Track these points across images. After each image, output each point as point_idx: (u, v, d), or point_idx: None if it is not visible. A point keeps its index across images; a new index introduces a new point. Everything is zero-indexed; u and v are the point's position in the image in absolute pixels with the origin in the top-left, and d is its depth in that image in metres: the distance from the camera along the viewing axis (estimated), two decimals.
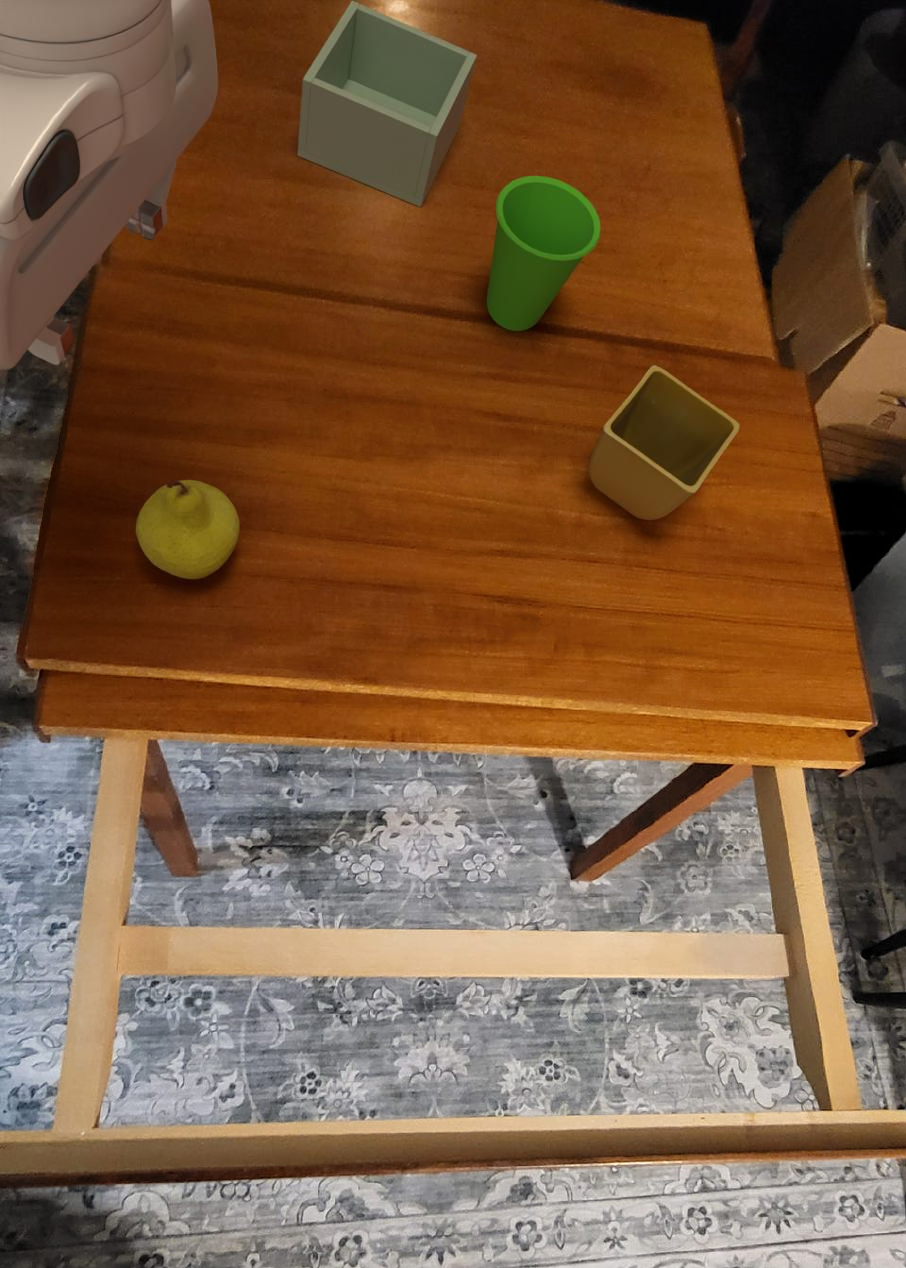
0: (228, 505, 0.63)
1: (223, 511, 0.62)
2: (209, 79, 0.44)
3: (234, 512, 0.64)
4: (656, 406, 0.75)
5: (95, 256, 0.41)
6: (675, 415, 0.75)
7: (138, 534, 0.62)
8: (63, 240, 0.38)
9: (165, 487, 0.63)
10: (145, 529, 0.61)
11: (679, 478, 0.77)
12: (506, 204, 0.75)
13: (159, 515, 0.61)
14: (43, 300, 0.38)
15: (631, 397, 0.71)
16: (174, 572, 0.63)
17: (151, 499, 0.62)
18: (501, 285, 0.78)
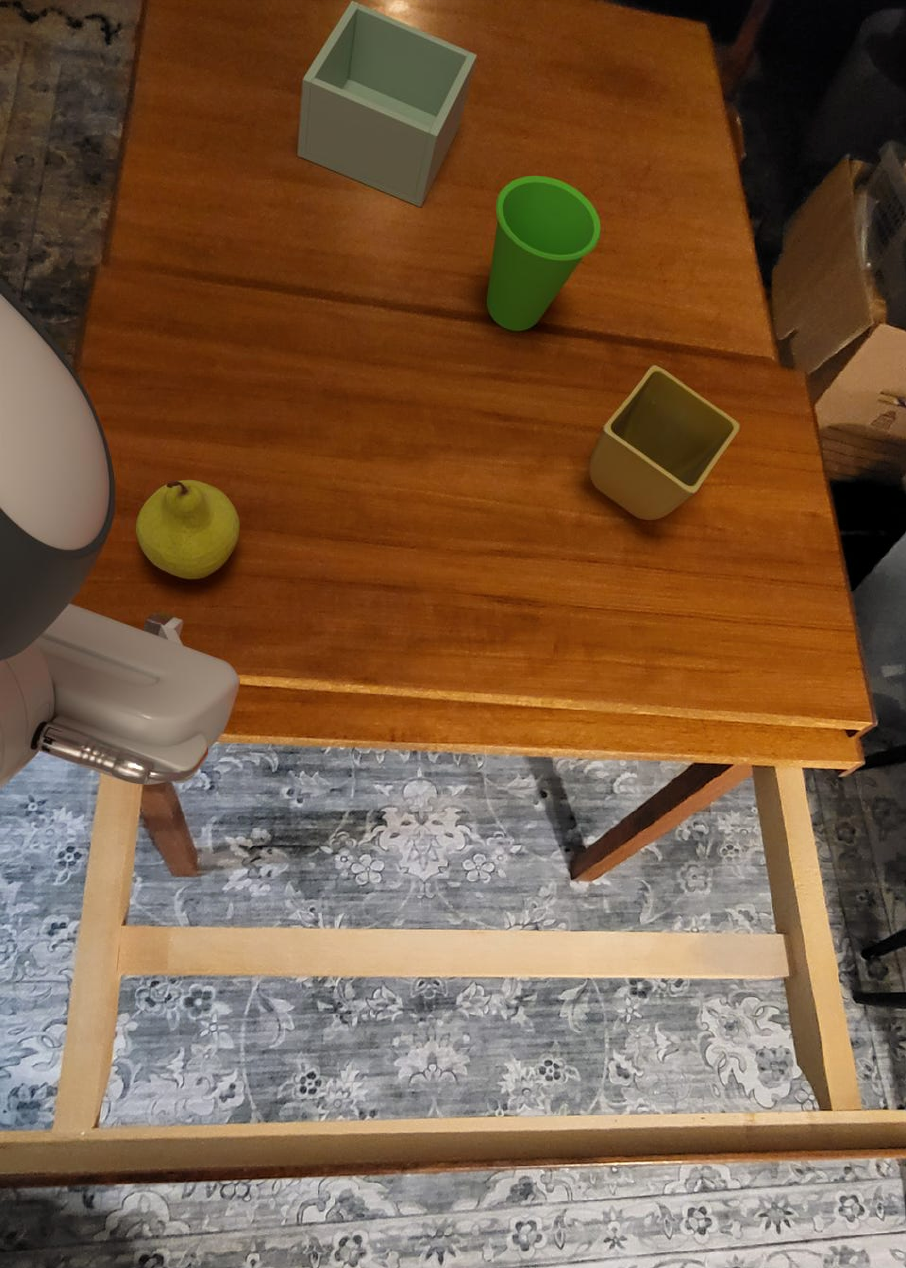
0: (228, 505, 0.63)
1: (223, 511, 0.62)
2: None
3: (234, 512, 0.64)
4: (656, 406, 0.75)
5: None
6: (675, 416, 0.75)
7: (138, 534, 0.62)
8: None
9: (165, 487, 0.63)
10: (145, 529, 0.61)
11: (679, 478, 0.77)
12: (506, 204, 0.75)
13: (159, 515, 0.61)
14: None
15: (631, 397, 0.71)
16: (174, 572, 0.63)
17: (151, 499, 0.62)
18: (501, 285, 0.78)
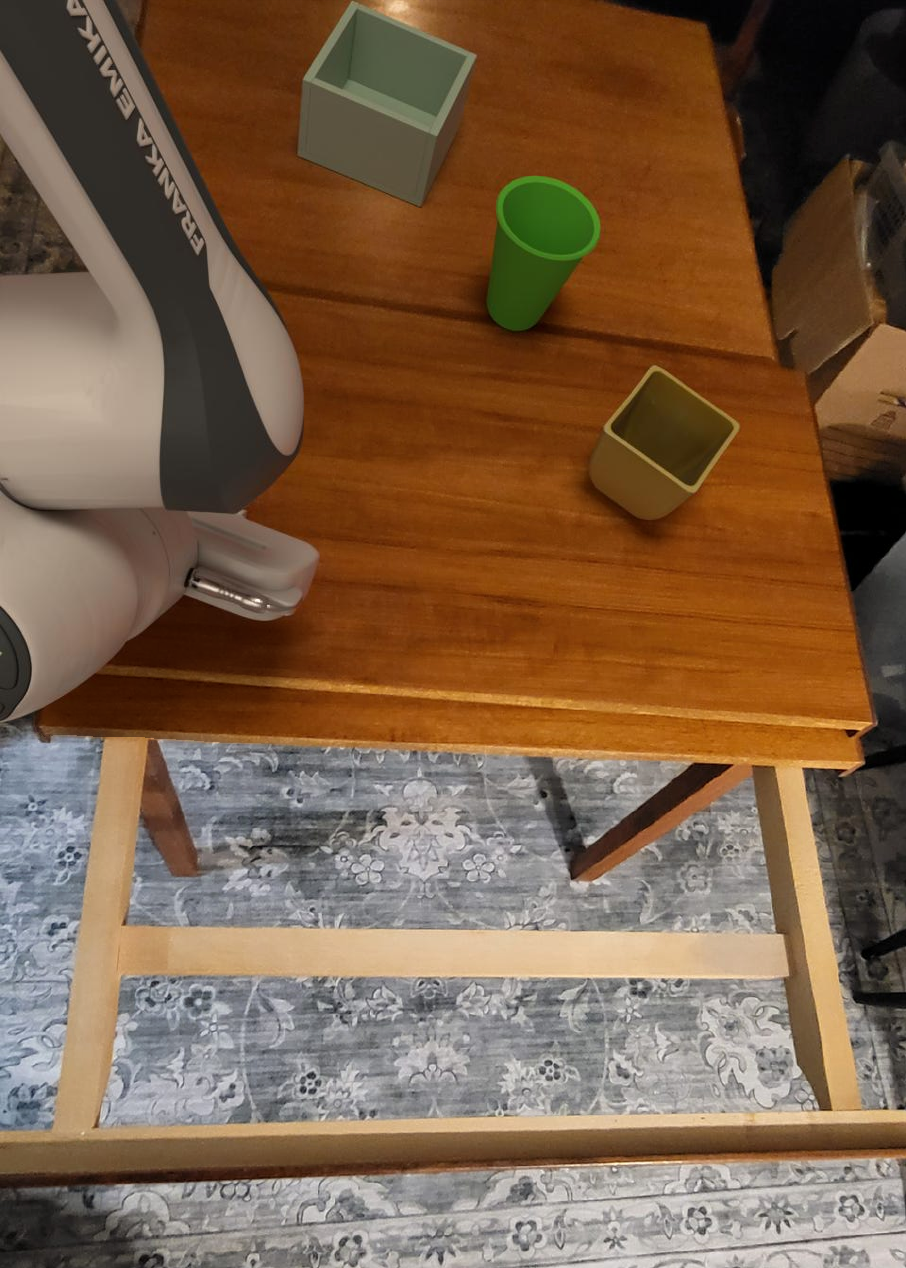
0: None
1: None
2: None
3: None
4: (656, 406, 0.75)
5: None
6: (675, 415, 0.75)
7: None
8: None
9: None
10: None
11: (679, 478, 0.77)
12: (506, 204, 0.75)
13: None
14: None
15: (631, 397, 0.71)
16: None
17: None
18: (501, 285, 0.78)
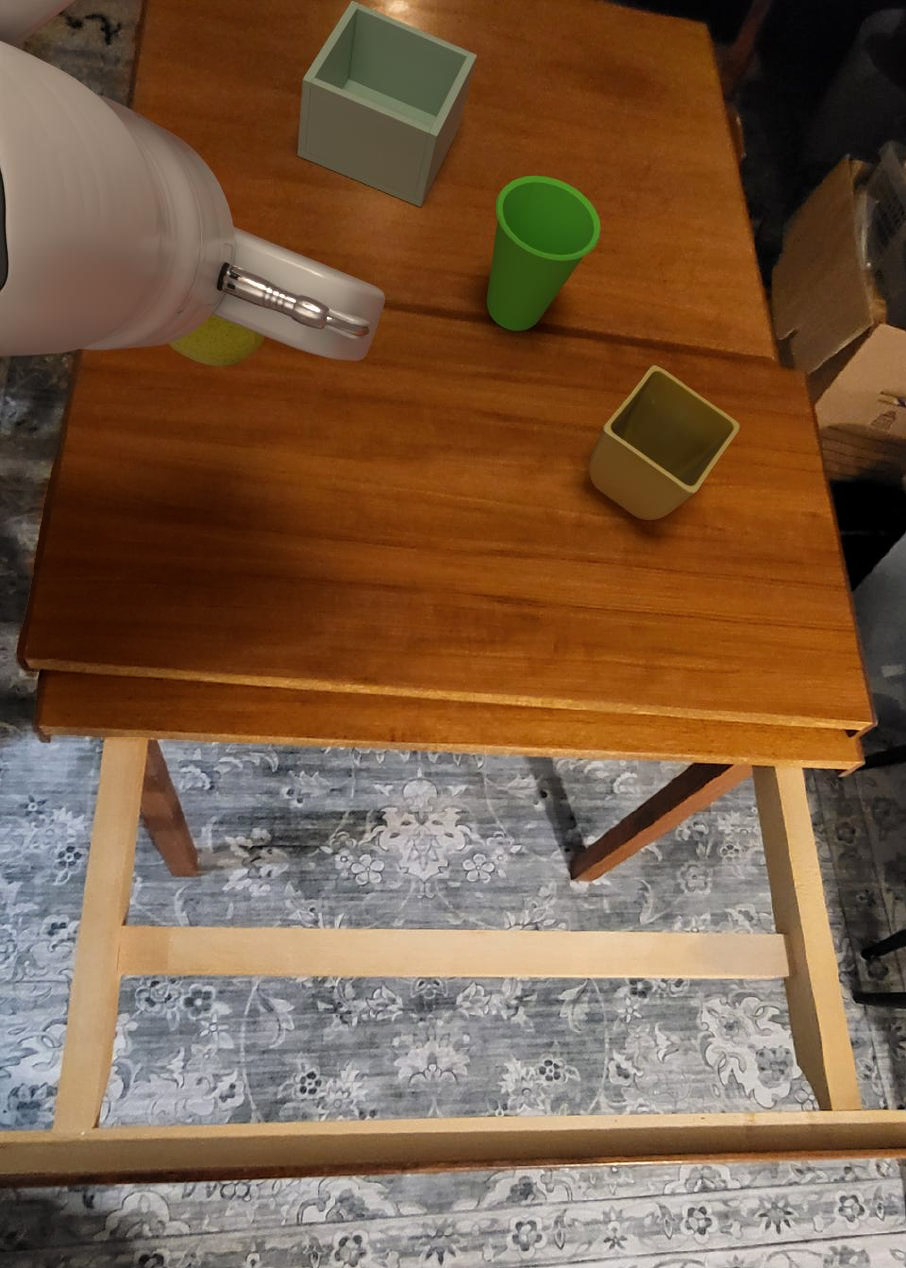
0: None
1: None
2: None
3: None
4: (656, 406, 0.75)
5: None
6: (675, 415, 0.75)
7: None
8: None
9: None
10: None
11: (679, 478, 0.77)
12: (506, 204, 0.75)
13: None
14: None
15: (631, 397, 0.71)
16: (196, 351, 0.50)
17: None
18: (501, 285, 0.78)
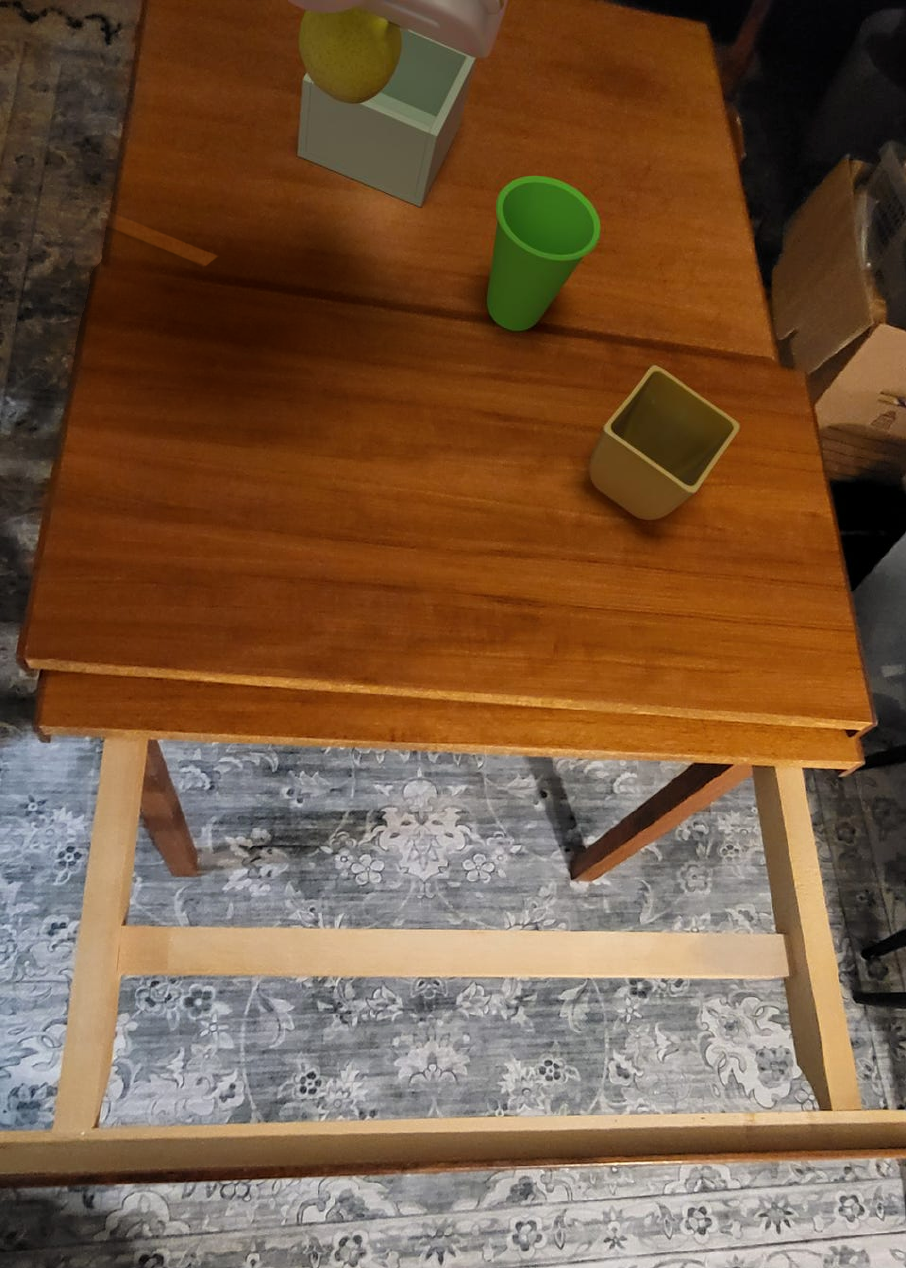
0: None
1: None
2: (468, 47, 0.54)
3: None
4: (656, 406, 0.75)
5: None
6: (675, 415, 0.75)
7: (304, 31, 0.60)
8: None
9: None
10: (314, 20, 0.59)
11: (679, 478, 0.77)
12: (506, 204, 0.75)
13: None
14: None
15: (631, 397, 0.71)
16: (338, 78, 0.61)
17: None
18: (501, 285, 0.78)
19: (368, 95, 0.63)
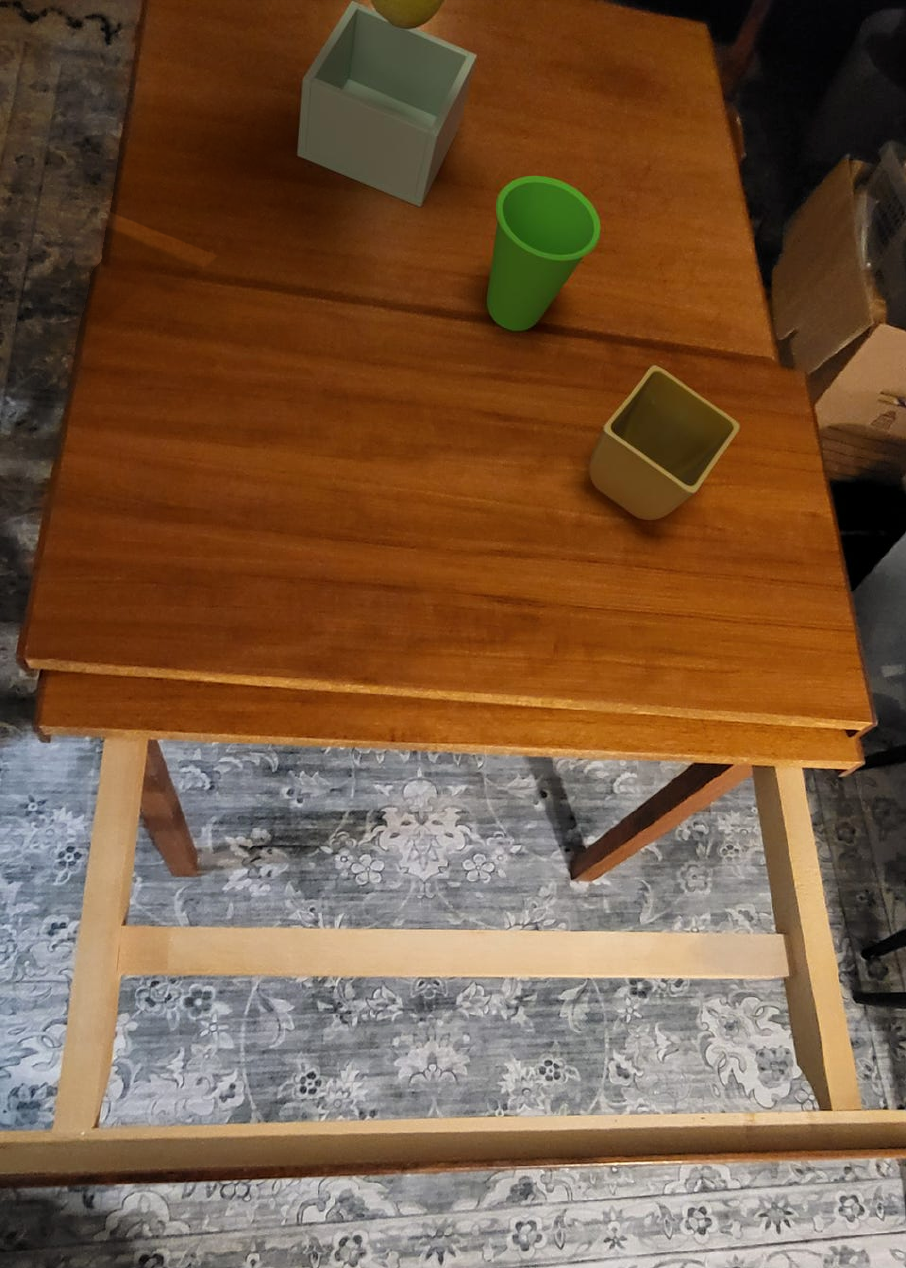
0: None
1: None
2: None
3: None
4: (656, 406, 0.75)
5: None
6: (675, 415, 0.75)
7: None
8: None
9: None
10: None
11: (679, 478, 0.77)
12: (506, 204, 0.75)
13: None
14: None
15: (631, 397, 0.71)
16: (398, 5, 0.73)
17: None
18: (501, 285, 0.78)
19: (422, 20, 0.75)
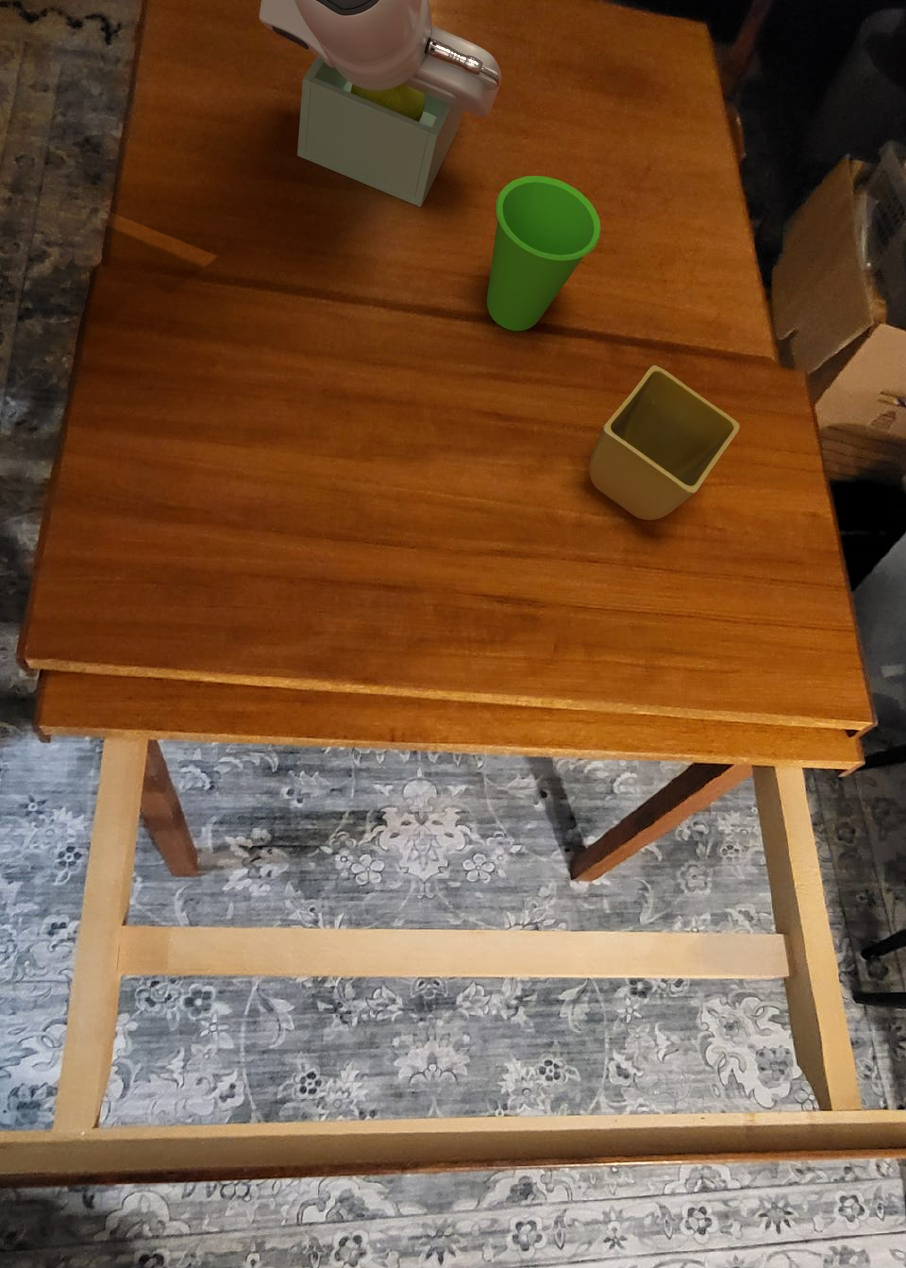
0: None
1: None
2: (473, 110, 0.77)
3: None
4: (656, 406, 0.75)
5: None
6: (675, 415, 0.75)
7: None
8: None
9: None
10: None
11: (679, 478, 0.77)
12: (506, 204, 0.75)
13: None
14: None
15: (631, 397, 0.71)
16: None
17: None
18: (501, 285, 0.78)
19: None
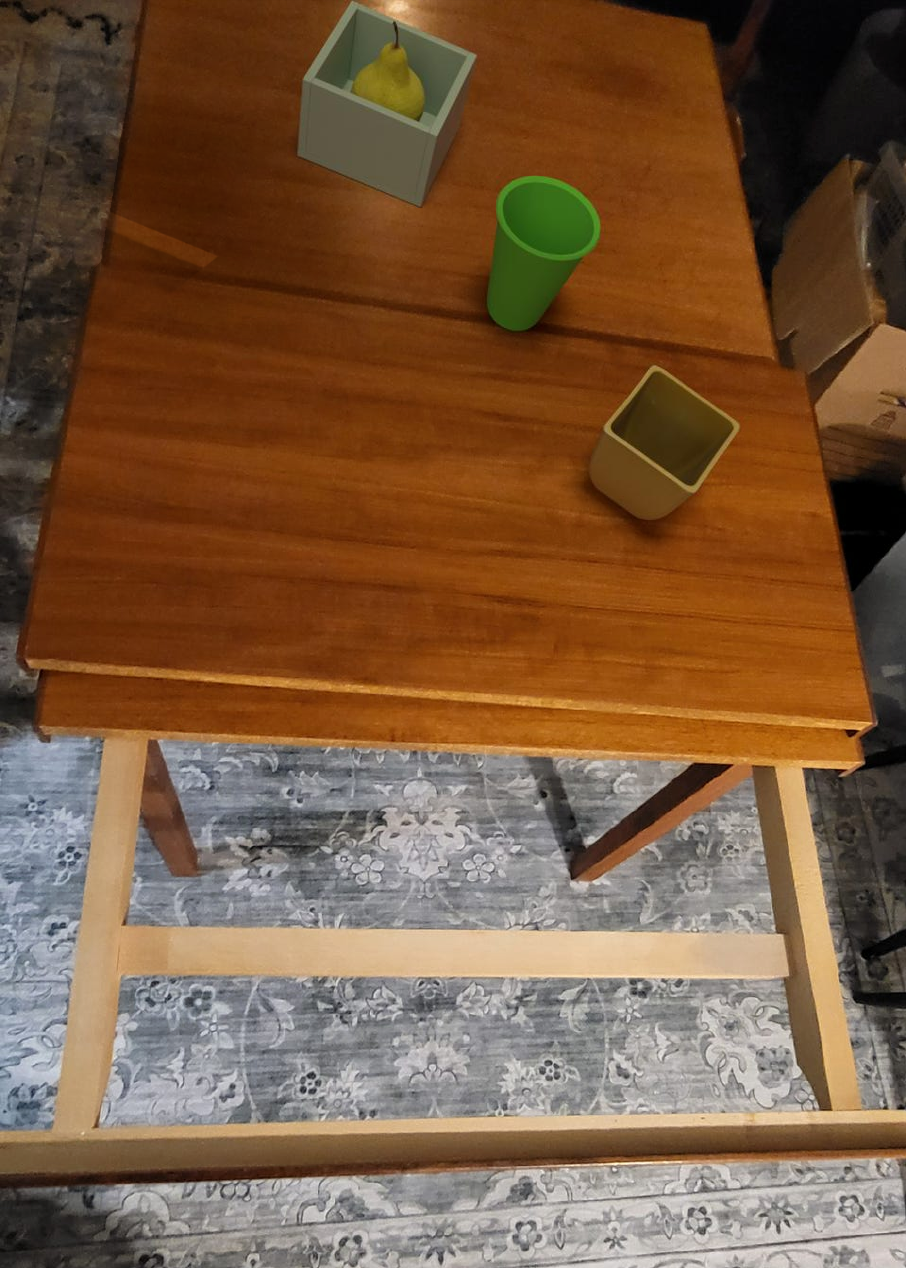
0: None
1: (416, 80, 0.83)
2: None
3: (422, 87, 0.84)
4: (656, 406, 0.75)
5: None
6: (675, 415, 0.75)
7: None
8: None
9: None
10: (361, 86, 0.82)
11: (679, 478, 0.77)
12: (506, 204, 0.75)
13: (373, 73, 0.81)
14: None
15: (631, 397, 0.71)
16: None
17: (363, 68, 0.82)
18: (501, 285, 0.78)
19: None
